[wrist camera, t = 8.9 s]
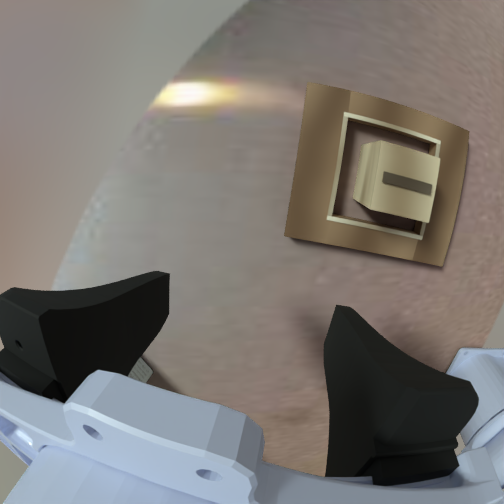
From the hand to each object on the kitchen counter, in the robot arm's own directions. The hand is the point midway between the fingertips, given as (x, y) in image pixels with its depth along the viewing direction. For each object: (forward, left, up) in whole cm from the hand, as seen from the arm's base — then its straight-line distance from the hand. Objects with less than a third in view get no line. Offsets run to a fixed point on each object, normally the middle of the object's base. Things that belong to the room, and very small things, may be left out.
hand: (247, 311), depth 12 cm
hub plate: (-8, -7, -10) cm, 14 cm away
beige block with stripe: (-8, -6, -10) cm, 14 cm away
